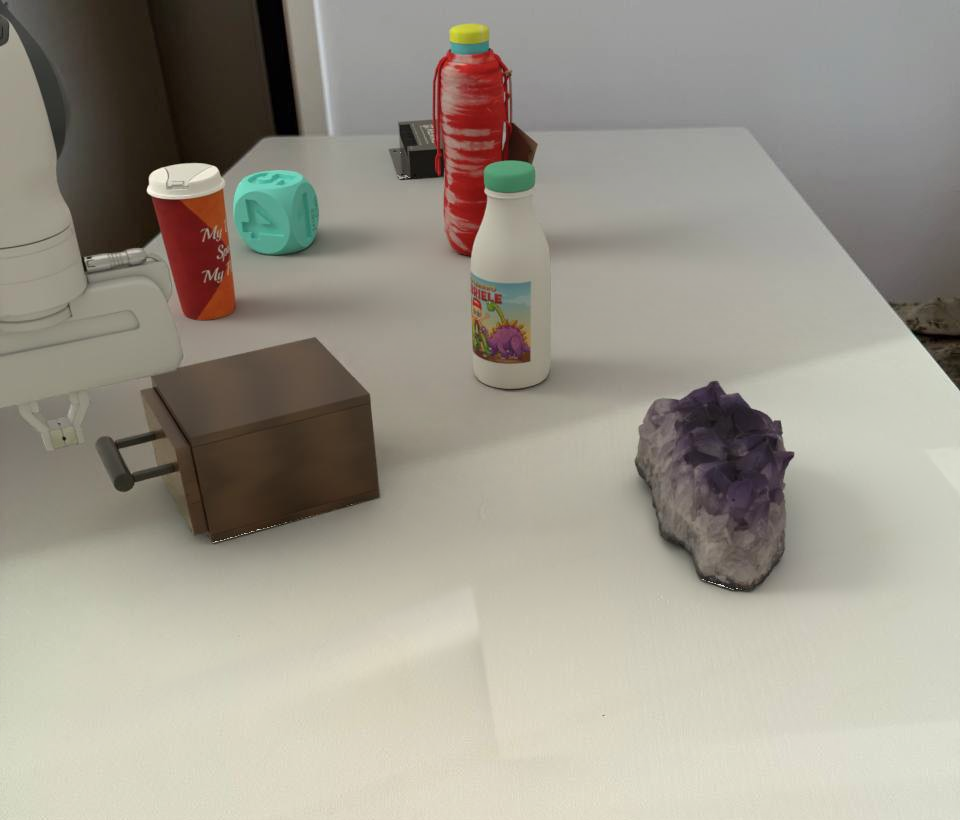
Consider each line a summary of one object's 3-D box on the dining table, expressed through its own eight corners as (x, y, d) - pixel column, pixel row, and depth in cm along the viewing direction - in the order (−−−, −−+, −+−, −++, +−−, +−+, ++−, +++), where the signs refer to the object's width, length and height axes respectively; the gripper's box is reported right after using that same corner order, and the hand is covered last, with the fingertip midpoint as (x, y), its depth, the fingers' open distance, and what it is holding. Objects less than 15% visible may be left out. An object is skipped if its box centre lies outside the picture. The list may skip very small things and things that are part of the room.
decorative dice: (295, 257, 141) (286, 191, 136) (238, 252, 143) (227, 187, 138) (322, 236, 147) (315, 172, 142) (267, 231, 149) (258, 167, 144)
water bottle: (531, 234, 145) (531, 14, 129) (539, 256, 139) (540, 28, 123) (437, 239, 144) (426, 19, 129) (441, 262, 138) (429, 34, 123)
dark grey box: (388, 149, 177) (379, 26, 166) (477, 142, 178) (473, 20, 167) (401, 188, 161) (391, 55, 150) (497, 180, 163) (495, 48, 152)
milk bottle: (511, 350, 118) (508, 148, 105) (566, 372, 114) (570, 164, 101) (457, 375, 114) (448, 167, 101) (512, 398, 109) (510, 185, 97)
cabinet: (212, 544, 91) (190, 438, 85) (172, 474, 100) (149, 373, 94) (380, 497, 96) (370, 393, 90) (327, 434, 105) (315, 336, 99)
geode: (837, 586, 84) (844, 474, 78) (683, 614, 85) (677, 505, 78) (759, 444, 100) (759, 340, 93) (629, 468, 100) (621, 367, 93)
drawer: (134, 552, 89) (111, 464, 84) (103, 486, 97) (80, 403, 92) (351, 492, 95) (341, 407, 90) (305, 434, 103) (294, 354, 98)
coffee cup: (238, 323, 126) (214, 183, 116) (165, 325, 126) (135, 186, 116) (251, 294, 132) (230, 159, 123) (181, 295, 132) (154, 161, 123)
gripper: (153, 230, 85) (185, 398, 94) (-142, 279, 78) (-78, 456, 87) (175, 257, 80) (207, 431, 89) (-136, 312, 73) (-69, 495, 82)
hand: (64, 444), depth 88 cm, fingers closed
